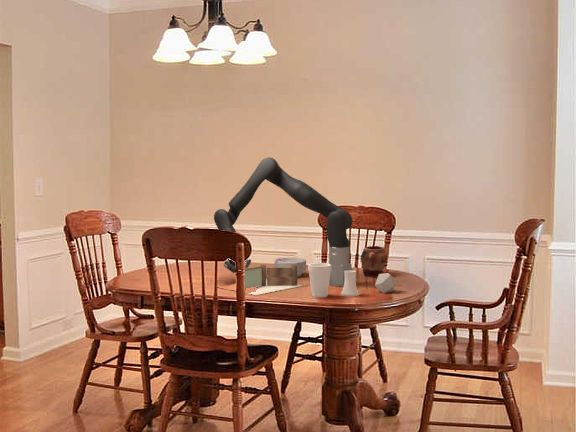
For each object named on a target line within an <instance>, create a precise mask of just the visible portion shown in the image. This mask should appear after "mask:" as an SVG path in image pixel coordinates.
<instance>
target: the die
mask: <svg viewBox="0 0 576 432" xmlns="http://www.w3.org/2000/svg"><path fill="white" fill-rule="evenodd" d="M397 282H398V280H397V279H395V277H393V276H392V275H391V274H390V273H388V272H386V273H385V272H383V274H379V276H378V277H377V279H376V281H375V284H374V287H376V288H377V289H379V291H380V292H382V293H383V294H388V293H393V291H394V290H395V287H396V284H397Z"/></svg>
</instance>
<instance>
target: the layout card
mask: <svg viewBox="0 0 576 432" xmlns="http://www.w3.org/2000/svg"><path fill="white" fill-rule="evenodd" d="M300 287H301V288H302V287H304V286H303V285H302V284H298V283H297V286H267V278H266V286H259V287H258V286H257V287H256V288H259V289H257V290H256V292H251V293H248V294H247V295H249V294H252V295H251V296H254V295H258V296H261V295H260V294H263V295H266V294H265V293H267V294H271V293H270V292H272V293H276V292H275V291H277V292H281V291H280V290H282V291H285V290H286V289H287V290H290V289H291V288H292V289H295V288H300ZM254 289H255V288H254ZM245 290H246V288H245ZM250 290H251V289H250Z"/></svg>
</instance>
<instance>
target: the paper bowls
mask: <svg viewBox="0 0 576 432" xmlns="http://www.w3.org/2000/svg"><path fill="white" fill-rule="evenodd" d="M293 264H296V265H297V278H298V277H301V276H302V274H303V272H305V271H306V270H307V259H304V258H301V257H279V258H274V267H292V265H293Z"/></svg>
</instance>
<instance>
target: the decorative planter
mask: <svg viewBox="0 0 576 432" xmlns="http://www.w3.org/2000/svg"><path fill="white" fill-rule="evenodd" d="M385 251H386V249H385V247H384V246H379V245H372V246H371V245H369V246H366V247H364V248H363V249H362V252H361V254H360V263H361V267H362V274H363V276H364V277H368V278H369V277H370V278H371V277H372V278H373V277H374V278H376V277H377V278H378V276H379V274H384V268H385V265H386V263H387V254H386V253H385Z"/></svg>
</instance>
